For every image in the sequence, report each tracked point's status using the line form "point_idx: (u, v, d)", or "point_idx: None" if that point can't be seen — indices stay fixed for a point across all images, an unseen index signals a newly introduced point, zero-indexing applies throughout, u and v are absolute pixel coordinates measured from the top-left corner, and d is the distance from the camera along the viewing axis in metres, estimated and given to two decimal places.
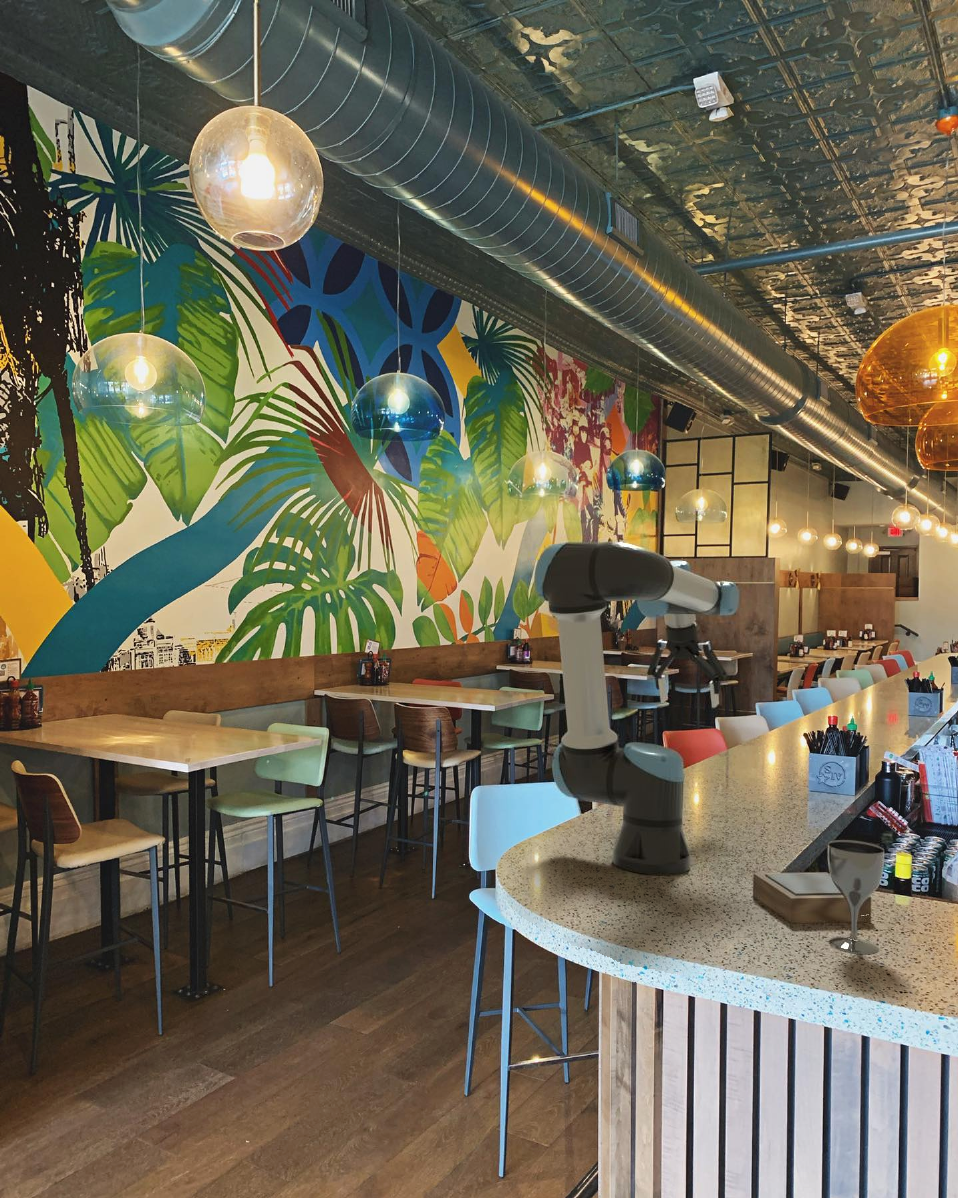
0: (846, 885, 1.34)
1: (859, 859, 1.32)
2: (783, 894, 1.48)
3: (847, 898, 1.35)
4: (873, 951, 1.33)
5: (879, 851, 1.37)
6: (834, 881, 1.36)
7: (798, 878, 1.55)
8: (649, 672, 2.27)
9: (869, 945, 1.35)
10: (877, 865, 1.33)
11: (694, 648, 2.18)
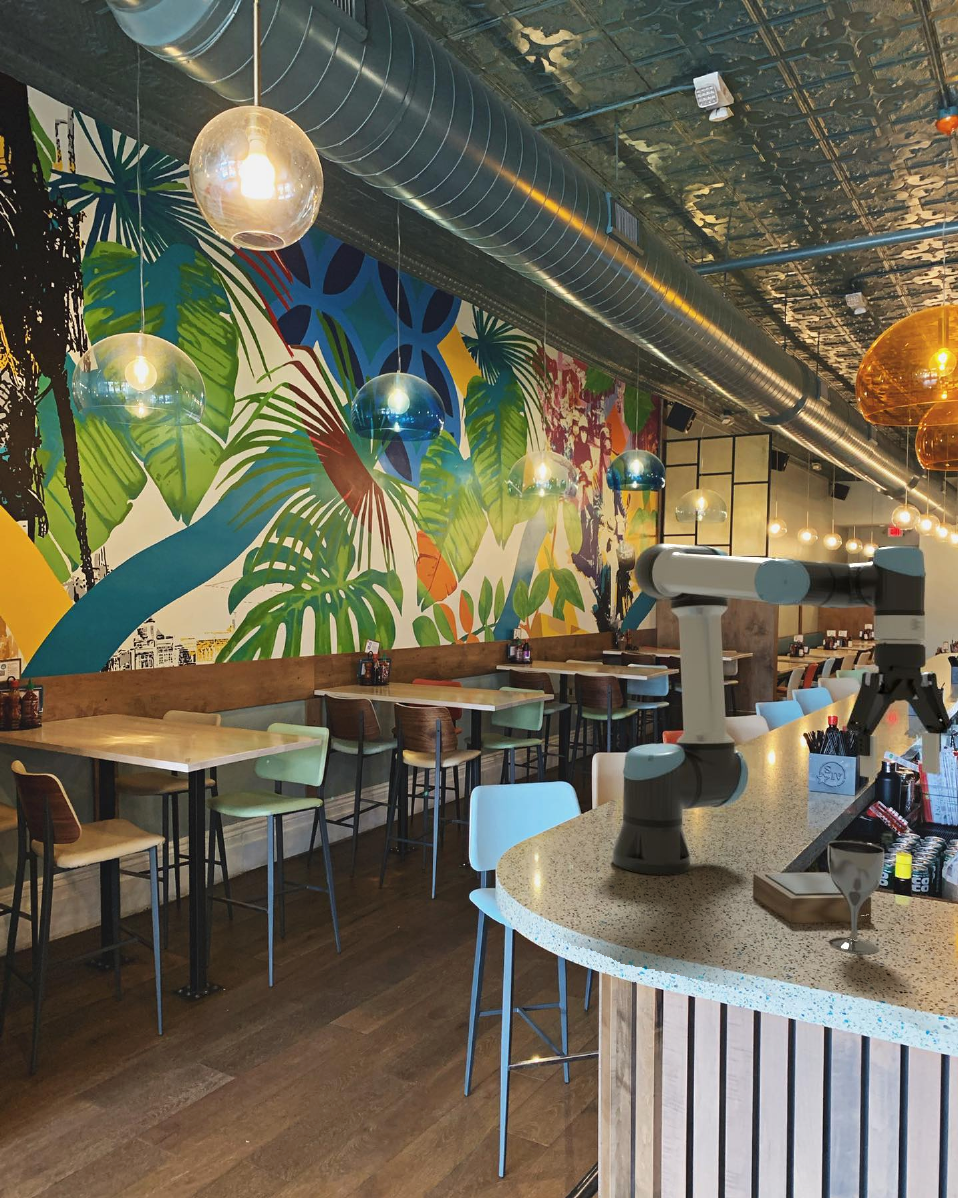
0: (846, 885, 1.34)
1: (859, 859, 1.32)
2: (783, 894, 1.48)
3: (847, 898, 1.35)
4: (873, 951, 1.33)
5: (879, 851, 1.37)
6: (834, 881, 1.36)
7: (798, 878, 1.55)
8: None
9: (869, 945, 1.35)
10: (877, 865, 1.33)
11: None
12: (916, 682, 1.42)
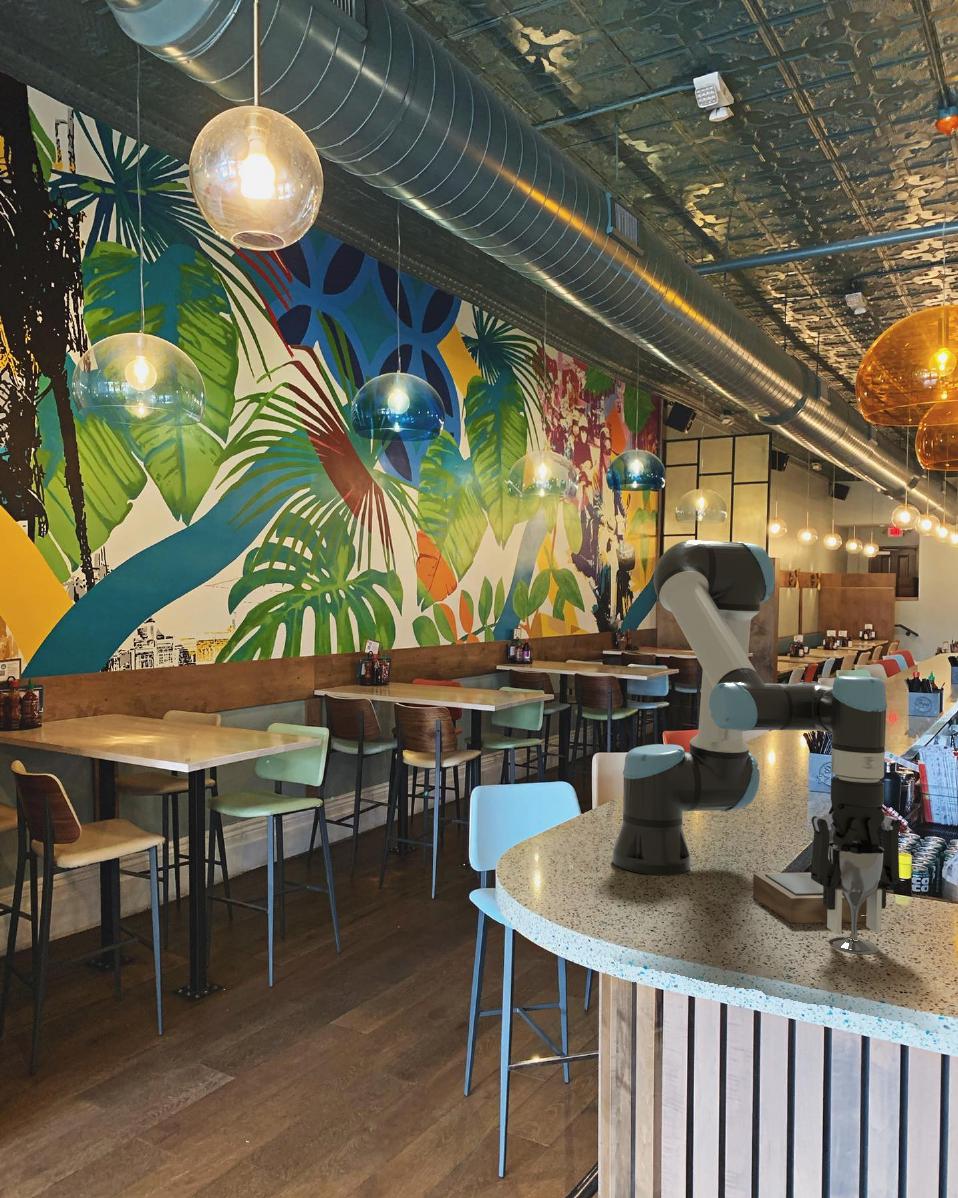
0: (846, 885, 1.34)
1: (859, 859, 1.32)
2: (783, 894, 1.48)
3: (847, 898, 1.35)
4: (873, 951, 1.33)
5: None
6: None
7: (798, 878, 1.55)
8: None
9: (869, 945, 1.35)
10: (877, 865, 1.33)
11: None
12: (872, 822, 1.34)
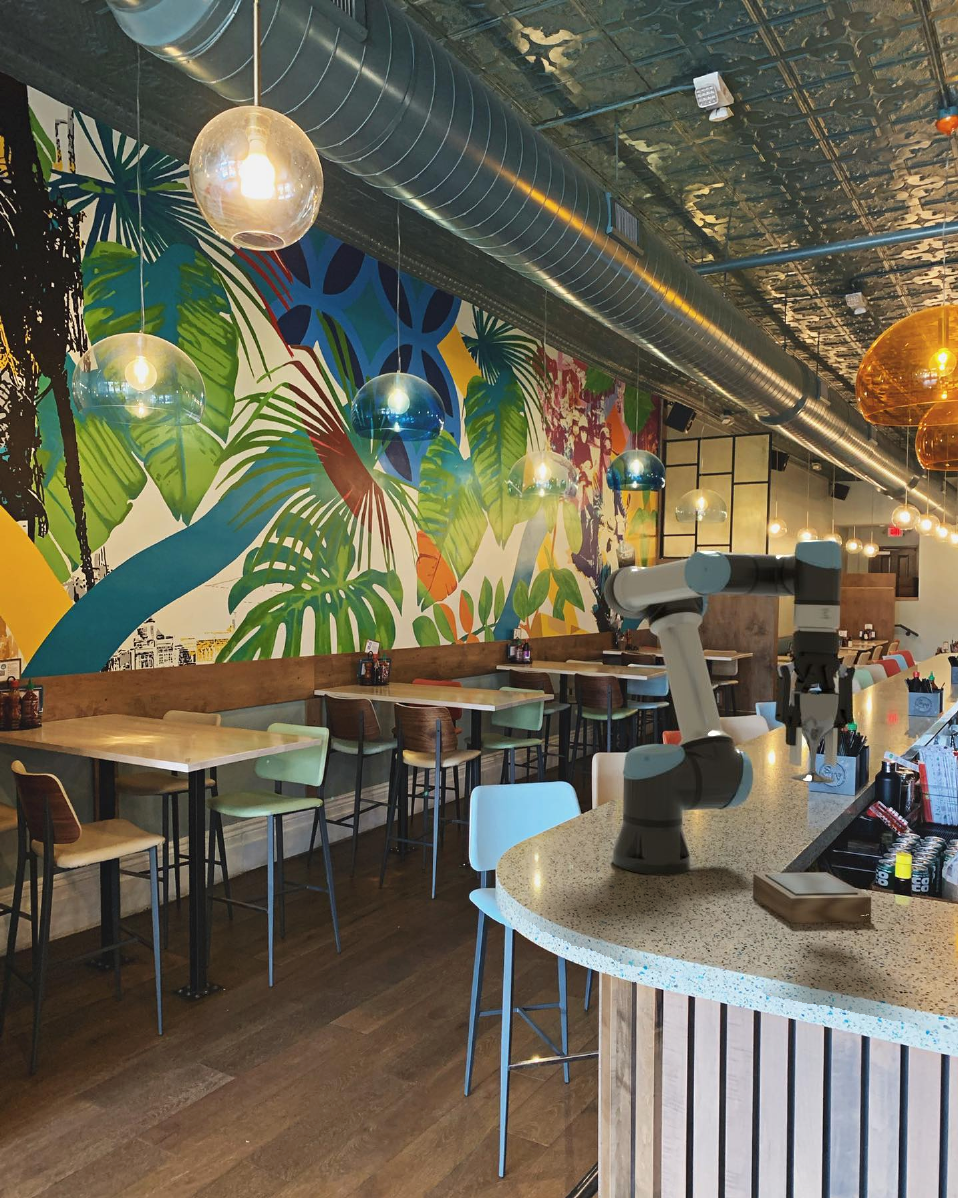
0: (806, 723, 1.51)
1: (816, 699, 1.50)
2: (783, 894, 1.48)
3: (806, 736, 1.53)
4: (829, 781, 1.51)
5: None
6: None
7: (798, 878, 1.55)
8: None
9: (826, 777, 1.52)
10: (833, 704, 1.50)
11: None
12: (829, 668, 1.52)
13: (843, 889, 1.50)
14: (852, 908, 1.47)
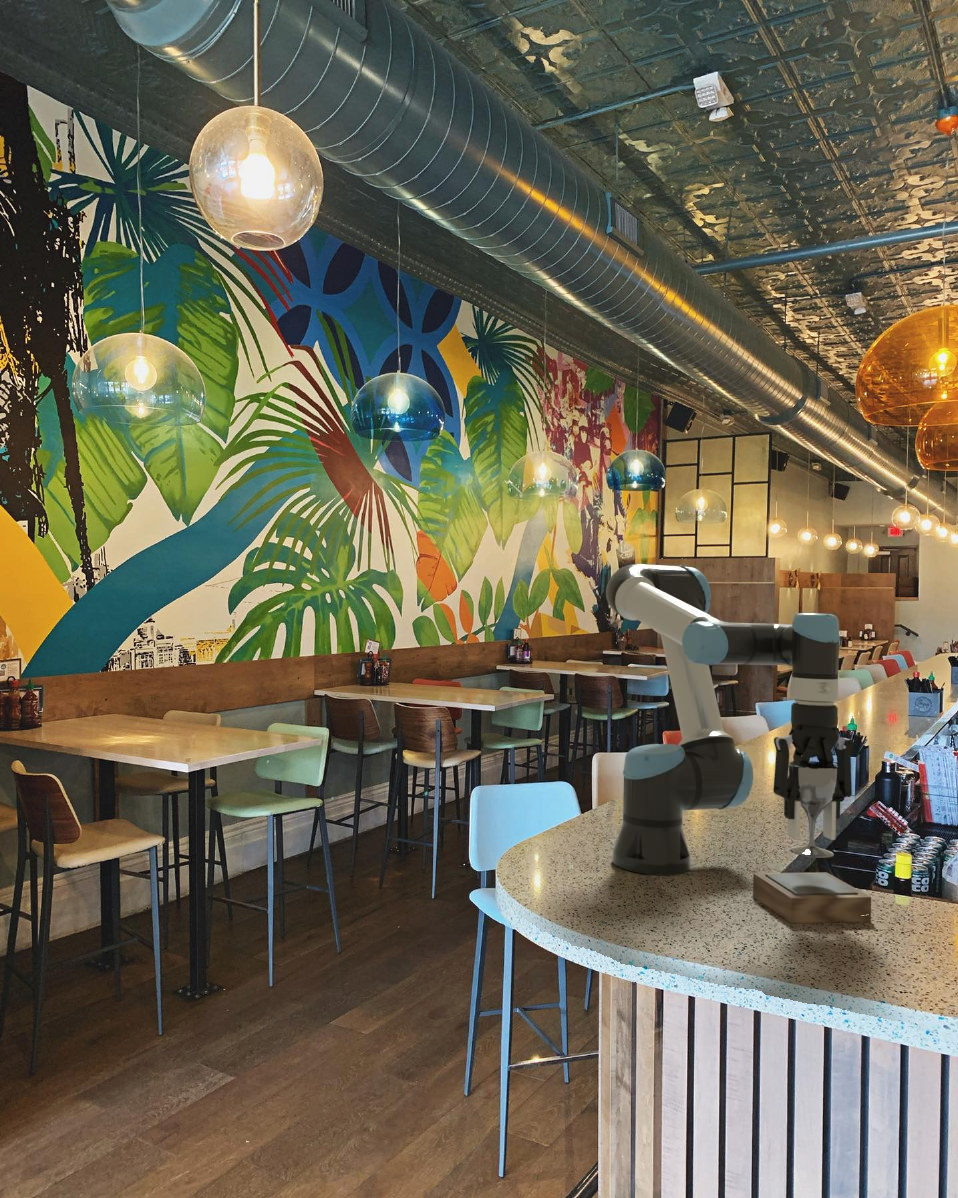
0: (804, 797, 1.51)
1: (815, 773, 1.49)
2: (783, 894, 1.48)
3: (805, 810, 1.52)
4: (828, 855, 1.50)
5: None
6: None
7: (798, 878, 1.55)
8: None
9: (825, 851, 1.52)
10: (831, 779, 1.50)
11: None
12: (827, 741, 1.52)
13: (843, 889, 1.50)
14: (852, 908, 1.47)
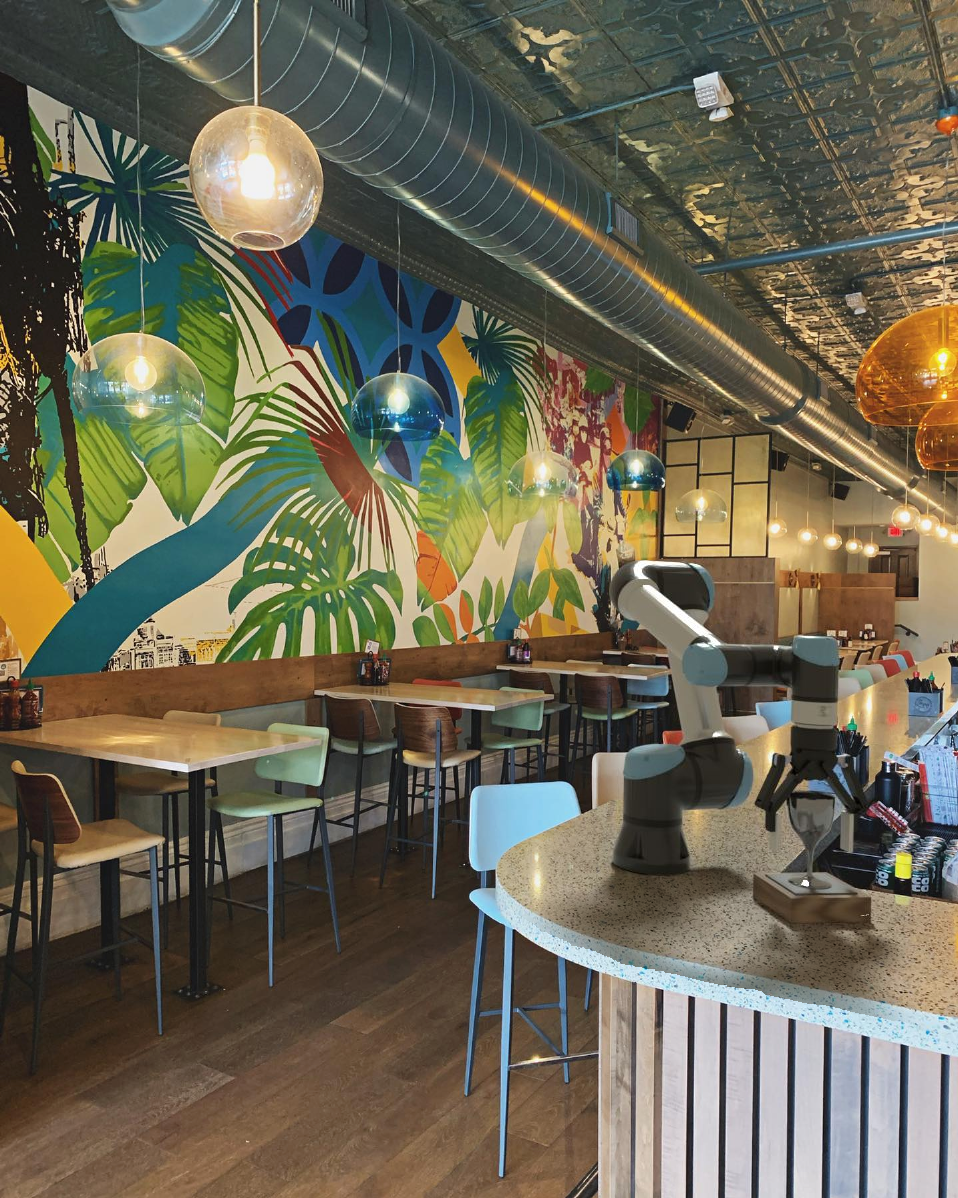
0: (802, 828, 1.51)
1: (812, 804, 1.50)
2: (783, 894, 1.48)
3: (803, 840, 1.53)
4: (826, 886, 1.50)
5: (831, 799, 1.54)
6: (791, 825, 1.53)
7: None
8: None
9: (823, 882, 1.52)
10: (829, 809, 1.50)
11: None
12: (826, 764, 1.52)
13: (843, 889, 1.50)
14: (852, 908, 1.47)
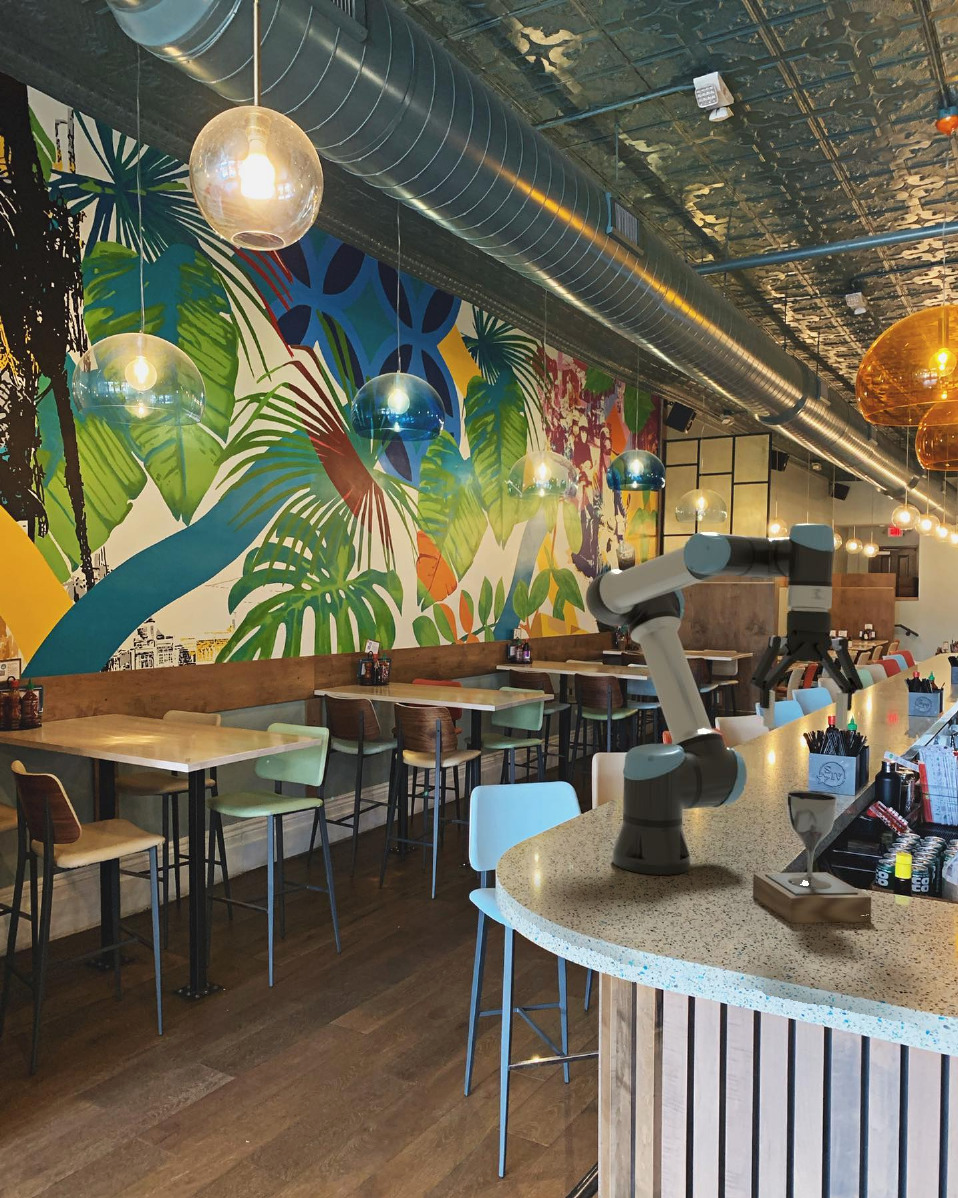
0: (802, 828, 1.51)
1: (813, 805, 1.49)
2: (783, 894, 1.48)
3: (803, 840, 1.52)
4: (826, 887, 1.50)
5: (832, 799, 1.54)
6: (792, 826, 1.53)
7: None
8: None
9: (823, 882, 1.52)
10: (830, 810, 1.50)
11: None
12: (820, 646, 1.59)
13: (843, 889, 1.50)
14: (852, 908, 1.47)
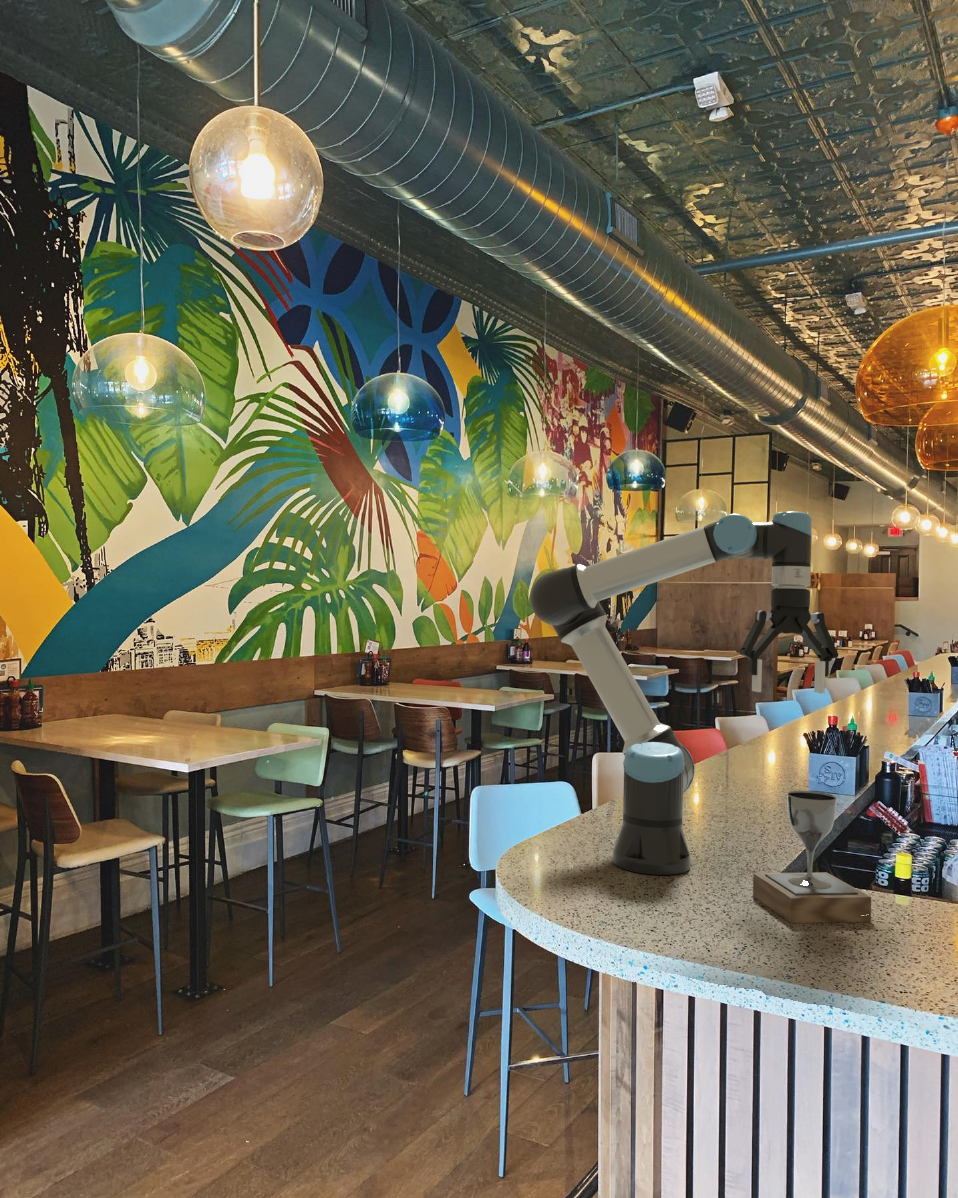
0: (802, 828, 1.51)
1: (813, 805, 1.49)
2: (783, 894, 1.48)
3: (803, 840, 1.52)
4: (826, 887, 1.50)
5: (832, 799, 1.54)
6: (792, 826, 1.53)
7: None
8: None
9: (823, 882, 1.52)
10: (830, 810, 1.50)
11: None
12: (801, 619, 1.80)
13: (843, 889, 1.50)
14: (852, 908, 1.47)
